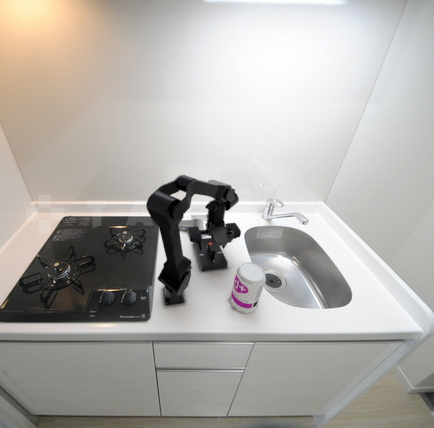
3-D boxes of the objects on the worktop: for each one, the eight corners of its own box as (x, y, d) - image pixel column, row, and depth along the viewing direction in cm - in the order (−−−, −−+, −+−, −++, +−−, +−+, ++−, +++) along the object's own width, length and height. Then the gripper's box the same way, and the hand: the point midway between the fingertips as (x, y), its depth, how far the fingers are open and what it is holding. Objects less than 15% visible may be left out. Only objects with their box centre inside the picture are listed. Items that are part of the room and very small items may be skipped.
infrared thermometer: (172, 225, 104) (202, 225, 102) (169, 241, 94) (203, 242, 92) (171, 218, 101) (203, 218, 100) (168, 233, 91) (203, 234, 90)
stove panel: (226, 268, 80) (228, 262, 78) (201, 271, 79) (202, 265, 77) (214, 242, 92) (215, 236, 90) (192, 244, 91) (193, 239, 89)
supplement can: (238, 317, 64) (247, 286, 55) (225, 294, 70) (232, 263, 62) (261, 310, 66) (273, 279, 57) (246, 288, 72) (255, 258, 64)
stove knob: (214, 257, 80) (215, 250, 78) (210, 258, 80) (211, 250, 78) (210, 249, 84) (211, 242, 82) (207, 250, 84) (208, 242, 82)
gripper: (194, 233, 64) (192, 267, 73) (251, 227, 67) (243, 261, 75) (187, 213, 73) (186, 246, 82) (237, 208, 76) (231, 241, 84)
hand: (211, 248), depth 81 cm, fingers open, 9 cm apart
